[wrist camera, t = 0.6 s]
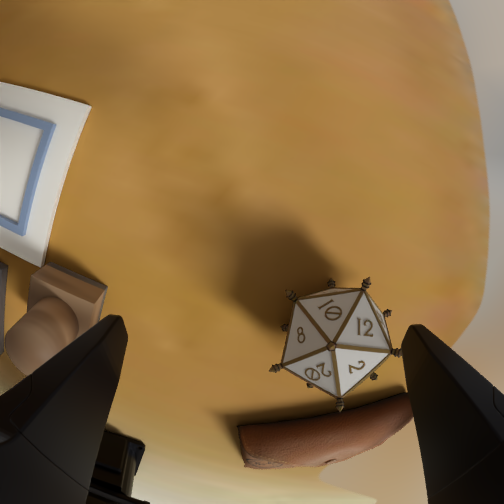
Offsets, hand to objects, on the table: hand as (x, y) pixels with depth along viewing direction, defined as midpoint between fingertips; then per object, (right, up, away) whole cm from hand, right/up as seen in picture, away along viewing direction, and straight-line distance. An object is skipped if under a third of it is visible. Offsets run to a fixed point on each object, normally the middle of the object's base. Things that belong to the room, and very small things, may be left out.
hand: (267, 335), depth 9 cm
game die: (+5, -2, +15) cm, 16 cm away
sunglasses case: (+7, -16, +20) cm, 26 cm away
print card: (-19, +9, +8) cm, 23 cm away
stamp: (-14, -1, +12) cm, 19 cm away
